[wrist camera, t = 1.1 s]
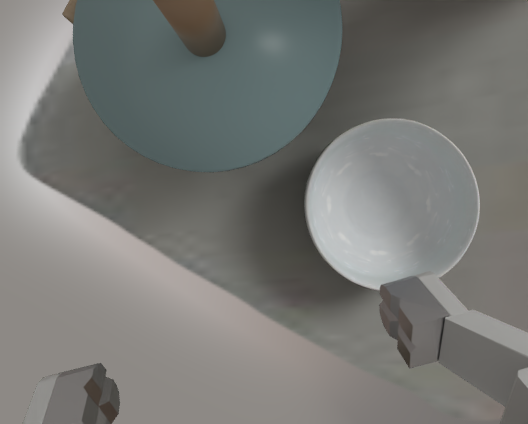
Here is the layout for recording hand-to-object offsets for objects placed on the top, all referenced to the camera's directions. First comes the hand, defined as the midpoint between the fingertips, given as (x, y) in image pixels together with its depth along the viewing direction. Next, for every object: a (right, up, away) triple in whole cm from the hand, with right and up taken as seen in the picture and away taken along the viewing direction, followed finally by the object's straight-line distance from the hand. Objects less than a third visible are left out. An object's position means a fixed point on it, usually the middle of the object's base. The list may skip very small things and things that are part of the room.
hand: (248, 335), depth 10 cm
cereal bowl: (+13, +5, +32) cm, 35 cm away
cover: (-4, +17, +17) cm, 24 cm away
